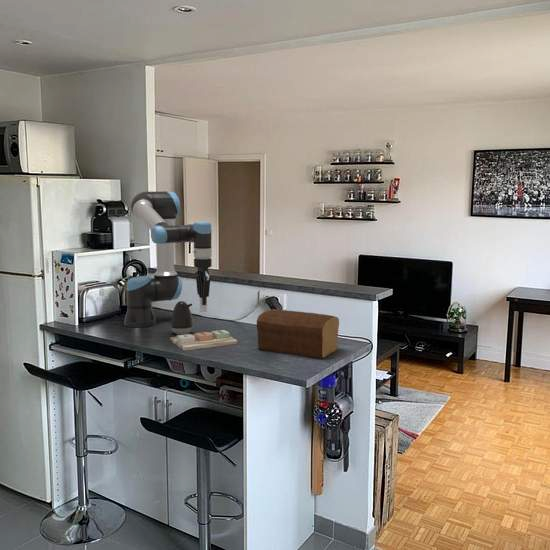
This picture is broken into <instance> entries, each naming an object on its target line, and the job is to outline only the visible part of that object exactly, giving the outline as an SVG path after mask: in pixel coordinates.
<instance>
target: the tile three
mask: <svg viewBox="0 0 550 550" xmlns="http://www.w3.org/2000/svg"><path fill="white" fill-rule="evenodd" d="M211 333H212V335H213V338H215V339H224V338H230V337H231V334H230V332H229V331H227V330H225V329H220V330H212V331H211Z"/></svg>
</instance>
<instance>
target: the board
mask: <svg viewBox="0 0 550 550" xmlns="http://www.w3.org/2000/svg"><path fill="white" fill-rule="evenodd" d="M209 333H210V334H212V332H209ZM192 335H193V336H194V337H195V334H192ZM169 339H170V342H171V341H172V343H173V344H174V345H175V346H177V347H178V348H180V349H181V350H183V351H192V350H200V349H201V348H202V349H208V348H213V347H214V348H215V347H221V346H222V347H223V346H230V345H238V340H237V339H236V338H234V337H233V336H230V338H224V339H215V338H213V340H208V341H201V342H199V341H197V340H195V342H193V343H185V344H180V343H179V342H177V336H172V337H170V338H169Z"/></svg>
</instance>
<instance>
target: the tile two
mask: <svg viewBox="0 0 550 550" xmlns="http://www.w3.org/2000/svg"><path fill="white" fill-rule="evenodd" d="M210 333H211V332H208V331H203V332H195V333H194V335H195V340H197V341H199V342H201V341H208V340H213V335H212V334H210Z"/></svg>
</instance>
